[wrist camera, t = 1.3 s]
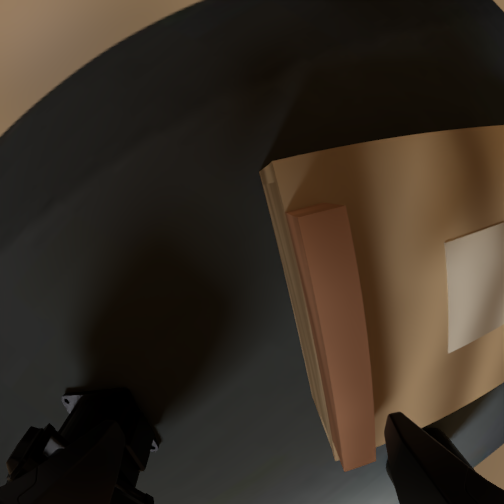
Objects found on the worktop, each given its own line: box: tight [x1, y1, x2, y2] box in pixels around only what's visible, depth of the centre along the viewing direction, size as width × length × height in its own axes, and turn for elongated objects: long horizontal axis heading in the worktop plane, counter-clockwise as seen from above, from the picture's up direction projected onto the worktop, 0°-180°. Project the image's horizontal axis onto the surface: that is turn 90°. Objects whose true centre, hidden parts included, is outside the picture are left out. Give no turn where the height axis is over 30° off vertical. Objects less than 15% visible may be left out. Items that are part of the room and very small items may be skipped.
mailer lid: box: [270, 125, 504, 472], centre depth 13 cm, size 18×16×3 cm
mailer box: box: [259, 163, 332, 448], centre depth 17 cm, size 18×16×6 cm
